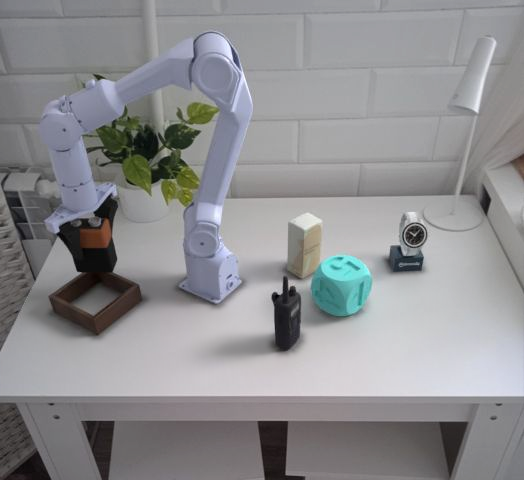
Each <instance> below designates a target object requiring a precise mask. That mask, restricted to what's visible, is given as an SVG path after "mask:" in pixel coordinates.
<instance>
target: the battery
mask: <svg viewBox="0 0 524 480" xmlns="http://www.w3.org/2000/svg"><path fill="white" fill-rule="evenodd" d="M70 223H71V224H73V227H75V228H77V229H79V230H81V231H80V244H81V248H82V252H83V259H82V260H78V259H76V258H74V257H72V261H73V263H74V267H75V271H76V273H82V272H83V273H112V272H113V273H114V270H115V267H116V266H117V265H116V264H117V262H118V255H117V251H116V247H115V242H114V238H113V232H112V233H111V229H110V225H109V221H108V219H106V218H99V217H95V216H92V217H83V218H82V217H79V218H76V219H74V220H72V221H71V222H70Z"/></svg>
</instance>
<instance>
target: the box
mask: <svg viewBox="0 0 524 480" xmlns="http://www.w3.org/2000/svg"><path fill="white" fill-rule="evenodd" d="M322 233H323V220H322V219H320V218H319V217H317V216H315V215H314V214H312V213H310V212H308V211H307V212H304V213H302V214H299V215H298V216H296V217H294V218H292V219H290V220H288V221H287V260H286V261H287V263H286V265H287V267H286V269H287V271H289V272H290V273H291V274H293V275H294V276H297V277H298V278H299V279H305V278H306V277H308V276H310V275H311V274H314V273H315V271H316V269H317V268H318V266H319V265H320V264H321V252H322V250H321V249H322V248H321V247H322V235H323V234H322Z"/></svg>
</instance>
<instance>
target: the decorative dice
mask: <svg viewBox="0 0 524 480" xmlns="http://www.w3.org/2000/svg"><path fill="white" fill-rule="evenodd" d="M312 275H313V276H312V278H311V282H310V293H311V296H312V298H313V300H314V302H315V304H316V305H317V306H318V307H319V308H320V310H322V311H323V312H325V313H327V314H329V315H331V316H335V317H347V316H351V315H354V314H356V313H357V312H358V311H360V310H361V308H362V307H363V306H364V305H365V303H366V302H367V300H368V298H369V296H370V294H371V292H372V291H371V290H372V287H373V278H372V274H371V272H370V270H369V268H368V266H367V265H366V264H365V263H364V262H363V261H361V260H360V259H359V258H357V257H355V256H352V255H348V254H334V255H332V256H331V255H330V256H329V257H327V258H325V259H324V260H323V261H321V262H320V265H319V266H318V268H317V269H316V271H315V272H313V274H312Z"/></svg>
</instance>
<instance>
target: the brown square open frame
mask: <svg viewBox="0 0 524 480" xmlns="http://www.w3.org/2000/svg"><path fill="white" fill-rule="evenodd" d="M98 284H100V285H103V286H105V287H107V288H109V289H110V290H113V291H115V292H117V293H120V295H118V296H117V297H116V298H114V299H113V300H111V301H110V302H109V303H108V304H107V305H105V306H104V307H103V308H101V309H100V310H98V312H96V313H95V314H92V313H89V312H88V311H85V310H83V309H81V308H80V307H78V306H76V305H74V304H72V303H73V302H75V301H76V300H78V299H79V298H80V297H82V296H83V295H84V294H85V293H87V292H88V291H90V290H91V289H92V288H94V287H95V286H97V285H98ZM47 297H48V300H49V303H50V306H51V309H52V311H53V313H54V314H57V315H58V316H61V317H63V318H64V319H66V320H67V321H70V322H71V323H73V324H75V325H78V326H79V327H81V328H83V329H85V330H87V331H89V332H90V333H92V334H94V335H96V336H99V335H101V334H102V333H104V331H106V330H108V329H109V328H110V327H111V326H112V325H113V324H115V323H116V322H117V321H118V320H120V319H121V318H122V317H123V316H124V315H126V314H127V313H129V312H130V311H131V310H132V309H133V308H135V307H136V306H138V305H139V304H140V303H141V302H143V300H144V299H143V294H142V290H141V286H140V283H137V282H135V281H133V280H130V279H128V278H127V277H124V276H123V275H120V274H118V273H116V272H114V271H113V272H112V273H83V272H80V273H79V274H78V275H76V276H75V277H74V278H72V279H71V280H69V281H68V282H66V283H65V284H63V285H62V286H61V287H59V288H58V289H56V290H55V291H54V292H52V293H51V294H49V295H48V296H47Z"/></svg>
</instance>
